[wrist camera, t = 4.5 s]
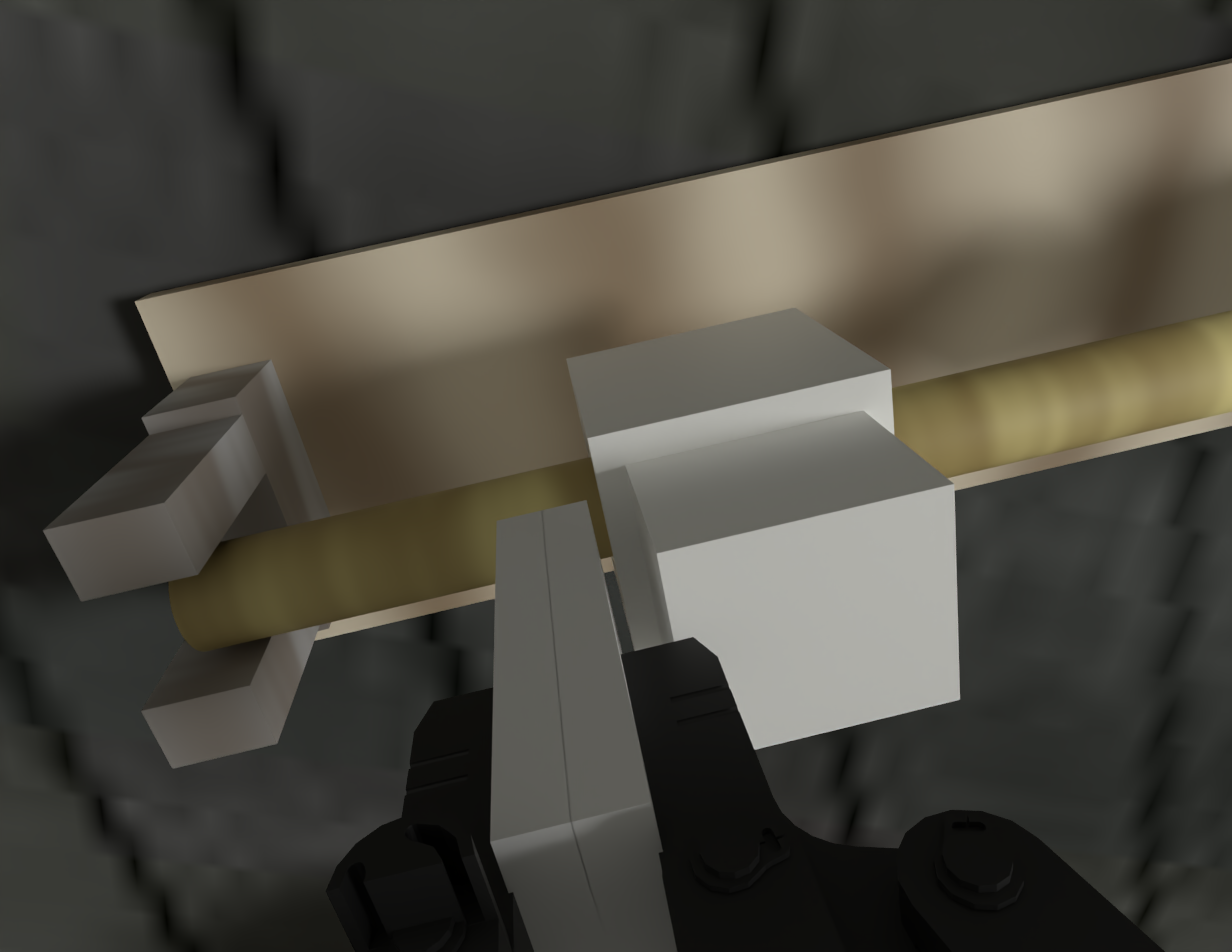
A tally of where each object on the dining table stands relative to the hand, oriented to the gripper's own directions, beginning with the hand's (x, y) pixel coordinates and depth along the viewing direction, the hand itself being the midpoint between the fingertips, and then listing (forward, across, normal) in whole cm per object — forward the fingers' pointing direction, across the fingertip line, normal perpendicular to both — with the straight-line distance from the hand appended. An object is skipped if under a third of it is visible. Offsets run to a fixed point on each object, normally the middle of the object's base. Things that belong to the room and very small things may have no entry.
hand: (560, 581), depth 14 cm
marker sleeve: (+5, +3, 0) cm, 6 cm away
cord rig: (+10, +8, 0) cm, 13 cm away
